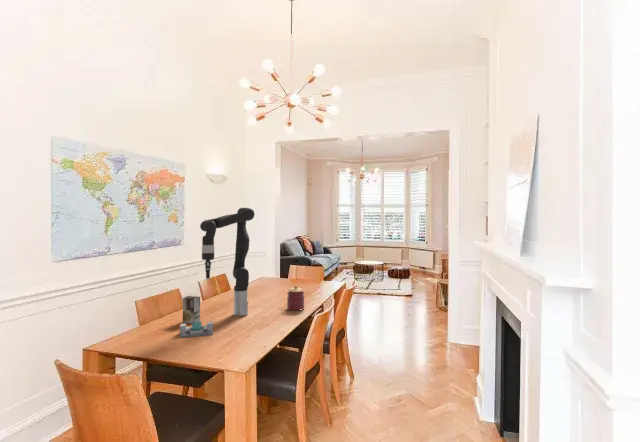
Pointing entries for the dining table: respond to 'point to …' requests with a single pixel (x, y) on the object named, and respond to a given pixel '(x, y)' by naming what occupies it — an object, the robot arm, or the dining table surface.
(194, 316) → the coffee box
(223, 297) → the dining table surface
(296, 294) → the canister
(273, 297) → the dining table surface
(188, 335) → the shaft bench
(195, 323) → the coupler
